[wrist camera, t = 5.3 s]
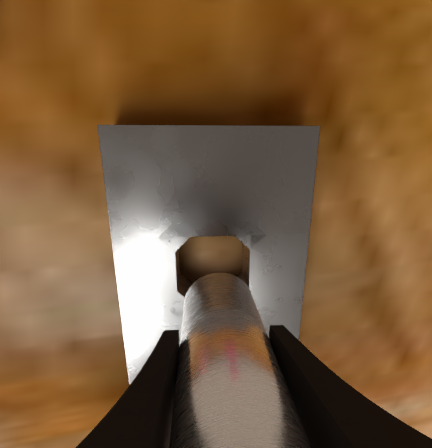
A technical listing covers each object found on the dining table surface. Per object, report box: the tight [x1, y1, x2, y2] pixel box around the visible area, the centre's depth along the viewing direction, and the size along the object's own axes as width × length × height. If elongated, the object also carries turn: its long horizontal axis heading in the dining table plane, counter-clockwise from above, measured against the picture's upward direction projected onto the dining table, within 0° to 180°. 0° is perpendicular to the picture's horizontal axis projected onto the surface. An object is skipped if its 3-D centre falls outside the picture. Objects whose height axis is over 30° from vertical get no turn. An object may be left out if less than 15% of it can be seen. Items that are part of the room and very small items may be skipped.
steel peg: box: [169, 272, 311, 448], centre depth 10 cm, size 4×4×9 cm
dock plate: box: [98, 125, 320, 385], centre depth 19 cm, size 20×14×3 cm
